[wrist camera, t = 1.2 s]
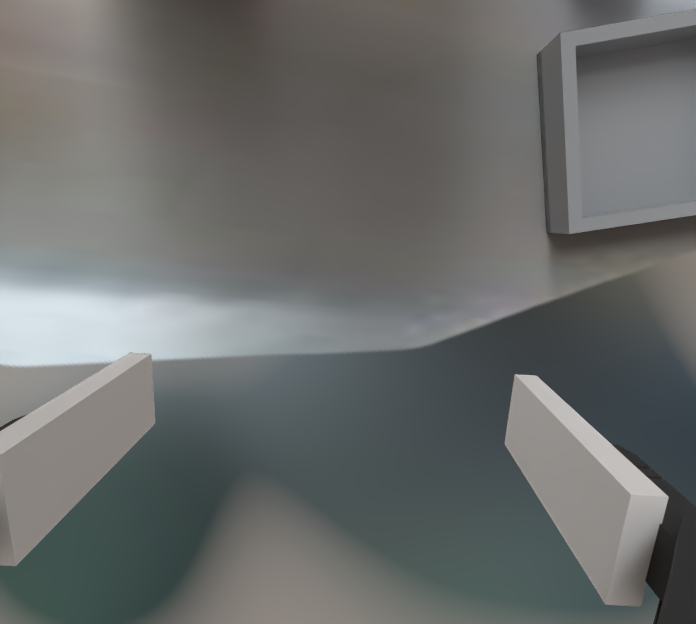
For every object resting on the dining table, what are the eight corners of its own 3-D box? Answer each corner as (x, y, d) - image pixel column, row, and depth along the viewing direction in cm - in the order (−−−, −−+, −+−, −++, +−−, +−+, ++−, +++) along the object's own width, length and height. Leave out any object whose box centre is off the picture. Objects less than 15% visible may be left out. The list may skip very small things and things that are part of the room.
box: (536, 55, 33) (560, 32, 30) (720, 22, 33) (769, -5, 29) (546, 232, 36) (569, 234, 32) (715, 207, 35) (760, 205, 32)
